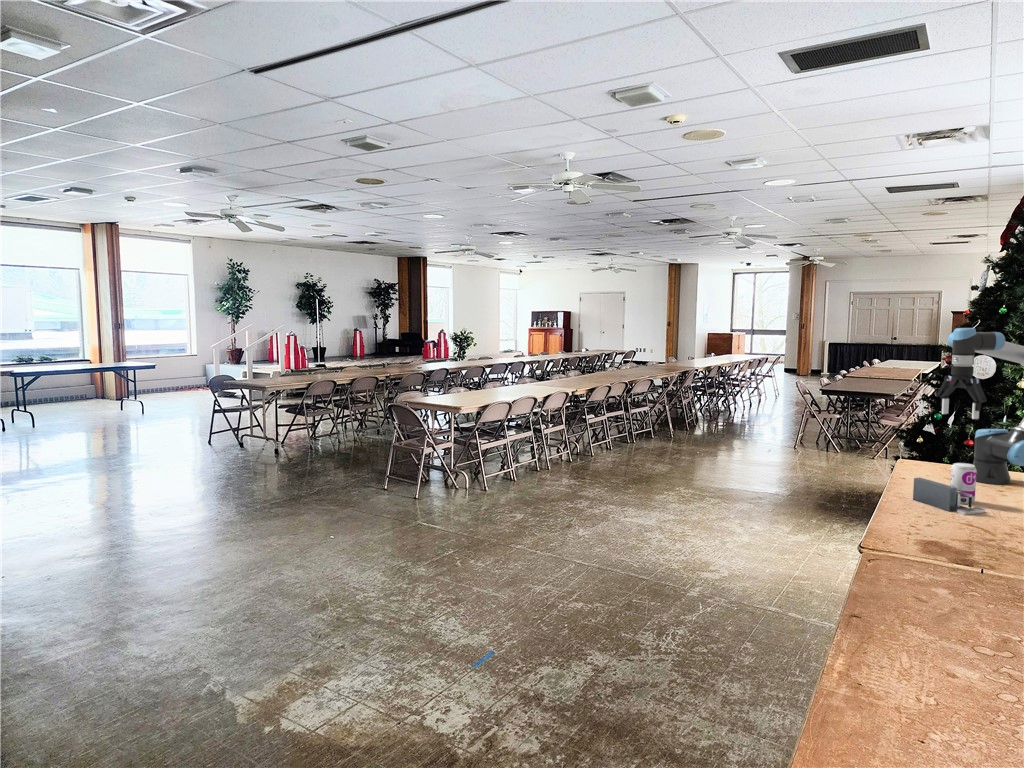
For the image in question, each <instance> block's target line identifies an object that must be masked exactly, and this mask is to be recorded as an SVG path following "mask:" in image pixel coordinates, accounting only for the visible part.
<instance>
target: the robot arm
mask: <svg viewBox="0 0 1024 768" xmlns="http://www.w3.org/2000/svg"><path fill="white" fill-rule="evenodd" d="M947 344H948V345H949V347H951V348H952V355H951V364H952V365H951V367H950V368H951V371H950V374H951V375H945V376H944V379H943V381H942V384H941V386H940V387H939V389H938V391H937V393H936V396H937V397H938V398H940V406H941V415H947V414H948V415H949V408H950V407H949V405H950V398H949V396H950V395H951V394H952V393H953V392H954V391H955V390H956V389H957V388H958V389H959V388H960V389H964V390H966V391H967V393H968V395H969V396H970V397H971V399H972V400H973V402H972V408H971V409H972V410H971V419H972V420H979V419H980V411H981V410H982V403H987V400H988V399H987V397H986V395H985V393H984V390H983V387H982V385H981V378H977V377H976V378H973V375H974V370H975V368H974V365H975V353H978V354H982V355H985V356H989V357H994V358H996V359H1000V360H1005V361H1007V362H1008V361H1009V362H1013V363H1017V364H1020V366H1022V367H1023V368H1024V345H1020V344H1018V343H1012V342H1009V341H1006V337H1005V335H1004V334H1003V333H1001V332H1000V331H998V332H997V331H985V332H984V331H976V328H975V327H957V328H955V329H954V330H953V332H951V333H950V334H949V336H948V337H947ZM974 435H975V436H974V452H973V462H972V463H971V464H972V465H975V468H976V470H977V472H976V483H977V482H978V483H984V484H989V485H1008V484H1011V475H1010V473H1009V469H1008V465H1007V463H1009V464H1012V465H1015V466H1021V467H1024V417H1023V418H1022V420H1021V421H1020V422H1019V425H1017V426H1015V427H1012V428H1011V429H1010V430H1008V429H1005V428H981V429H977V430H976V431H975V434H974Z"/></svg>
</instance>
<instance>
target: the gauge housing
mask: <svg viewBox="0 0 1024 768" xmlns="http://www.w3.org/2000/svg"><path fill="white" fill-rule="evenodd" d="M912 488H913V490H912V491H913V492H912V494H913V495H912V501H915V502H919V503H921V504H924V505H928V506H931V507H933V508H937V509H941V510H943V511H946V512H956V513H957V514H960V515H963V516H968V515H974V514H975V515H976V514H983V513H986V508H983V507H979V506H978V507H977V506H974V507H971V508H969V507H967V506H964V505H962V504H960V507H956V490H957V488H956V487H952V486H950V485H948V484H945V483H942V482H938V481H935V480H934V481H933V480H930V479H927V478H923V477H914V478H913V487H912Z"/></svg>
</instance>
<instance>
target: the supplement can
mask: <svg viewBox="0 0 1024 768" xmlns="http://www.w3.org/2000/svg"><path fill="white" fill-rule="evenodd" d="M972 464H973V463H967V462H955V463H952V466H951V467H950V468H951V469H950V485H949V486H952V487H956V488H957V491H960V492H964V493H967V494H971V495H972V504H974V503H975V501H976V487H977V486H976V485H977V481H976V472H977V470H976V468H975V465H972ZM960 505H969V497H968V496H965V495H961V494H960Z"/></svg>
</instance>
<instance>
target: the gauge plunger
mask: <svg viewBox="0 0 1024 768" xmlns="http://www.w3.org/2000/svg"><path fill="white" fill-rule="evenodd" d="M960 494H961V495H965V496H968V497H969V504H967V505H968V507H967V508H972V505H973V503H972V495H971V494H967V493H964V492H960V491H957V490H956V507H960V505H961V504H960Z"/></svg>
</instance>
